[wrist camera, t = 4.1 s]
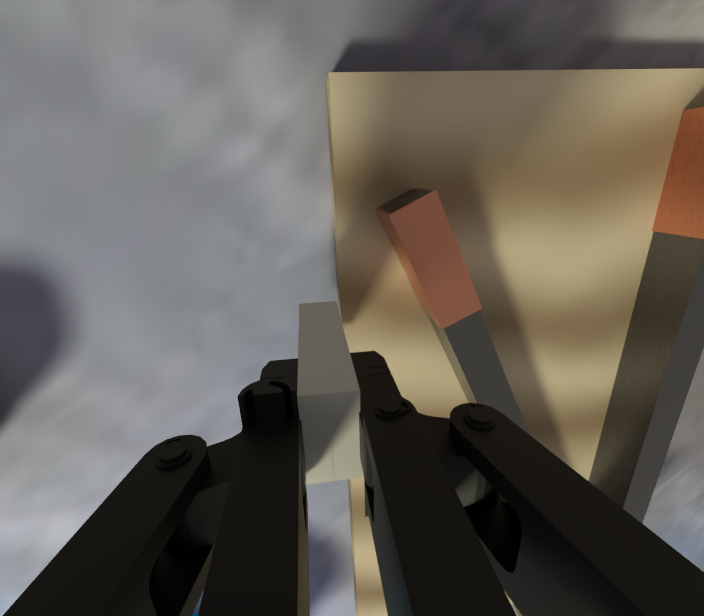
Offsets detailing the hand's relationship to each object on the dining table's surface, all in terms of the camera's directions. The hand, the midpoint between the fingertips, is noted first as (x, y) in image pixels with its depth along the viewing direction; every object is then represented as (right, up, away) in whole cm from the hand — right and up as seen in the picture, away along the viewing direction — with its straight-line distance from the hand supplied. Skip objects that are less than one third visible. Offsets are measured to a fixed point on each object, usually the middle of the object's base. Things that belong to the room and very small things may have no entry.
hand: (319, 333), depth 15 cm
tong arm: (+8, -4, +4) cm, 10 cm away
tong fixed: (+15, -4, +5) cm, 17 cm away
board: (+10, -5, +6) cm, 13 cm away
